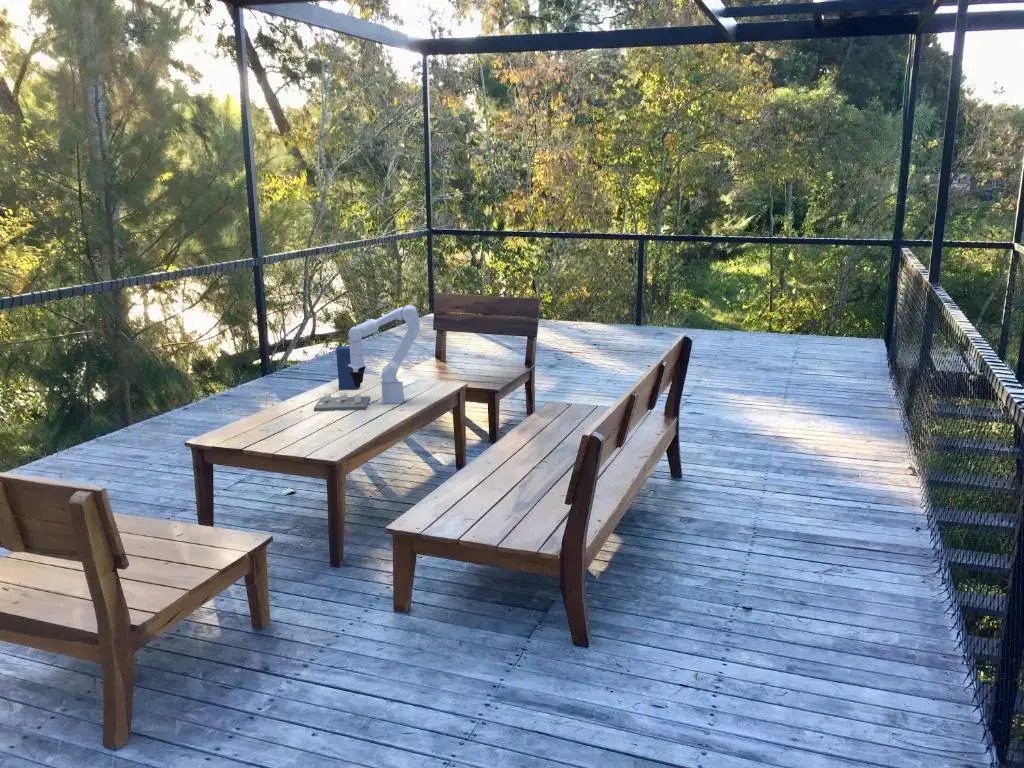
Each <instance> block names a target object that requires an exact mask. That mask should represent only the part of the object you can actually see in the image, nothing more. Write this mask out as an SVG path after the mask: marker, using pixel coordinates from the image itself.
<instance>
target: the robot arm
mask: <svg viewBox="0 0 1024 768" xmlns="http://www.w3.org/2000/svg"><path fill="white" fill-rule="evenodd" d="M396 320H399V321H403V320H404V321H405V323H406V325H407V328H408V329H407V331H406V332H405V335H404V337H403V338H402V340H401V341H400V344H399V345H398V347H397V348H396V350H395V352H394V354H393V356H392V357H391V359H390V360H389V362H388V363H387V365H385V366H384V367H383V368H382V372H381V397H382V399H381V402H380V404H402V403H404V399H405V394H404V383H403V381H399V380H398V378H397V372H398V371H399V369H400V367H401V365H402V364H403V361H404V359H405V358H406V355H407V354H408V353H409V351H410V349H411V347H412V345H413V343H414V342H415V341H416V338H417V337H418V335H419V333H420V330H421V326H420V316H419V312H418V309H417V308H416V306H414V305H413V304H406V305H404V306H401V307H398V308H396V309H394V310H392V311H390V312H389V313H386V314H385V315H382V316H381V317H379V318H376V319H374V318H367V319H365V321H364V322H361V323H360V324H358V323H357V324H356V326H352V327H351V328H350V329H349V331H348V338H349V346H350V359H351V364H349V365H348V367H352V368H353V371H350V374H351V376H352V378H353V381H354V385H355V387H360V388H361V384H363V381H364V375H365V370H366V368H367V367H366V364H365V359H364V358H365V357H364V344H363V337H364V338H365V337H367V336H369V335H371V334H373V333H376V332H378V330H379V328H380V327H381V326H384V325H385V324H387V323H390V322H392V321H396Z"/></svg>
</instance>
